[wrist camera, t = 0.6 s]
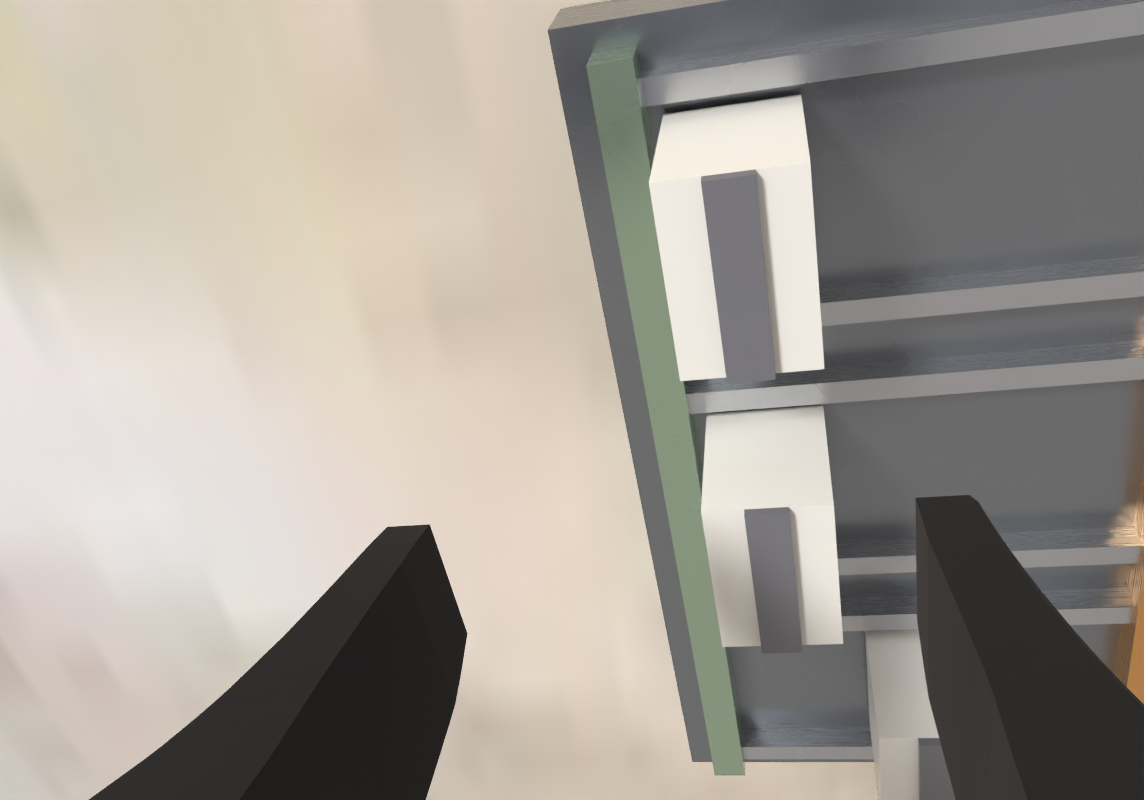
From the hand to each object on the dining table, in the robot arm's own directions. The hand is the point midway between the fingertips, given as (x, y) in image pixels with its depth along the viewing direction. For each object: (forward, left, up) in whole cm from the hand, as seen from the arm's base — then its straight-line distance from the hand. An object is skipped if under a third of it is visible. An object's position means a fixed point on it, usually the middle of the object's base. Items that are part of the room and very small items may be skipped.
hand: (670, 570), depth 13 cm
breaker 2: (-1, +5, -8) cm, 10 cm away
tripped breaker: (-4, +12, -8) cm, 15 cm away
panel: (-5, +5, -10) cm, 12 cm away
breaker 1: (-1, -2, -8) cm, 8 cm away
